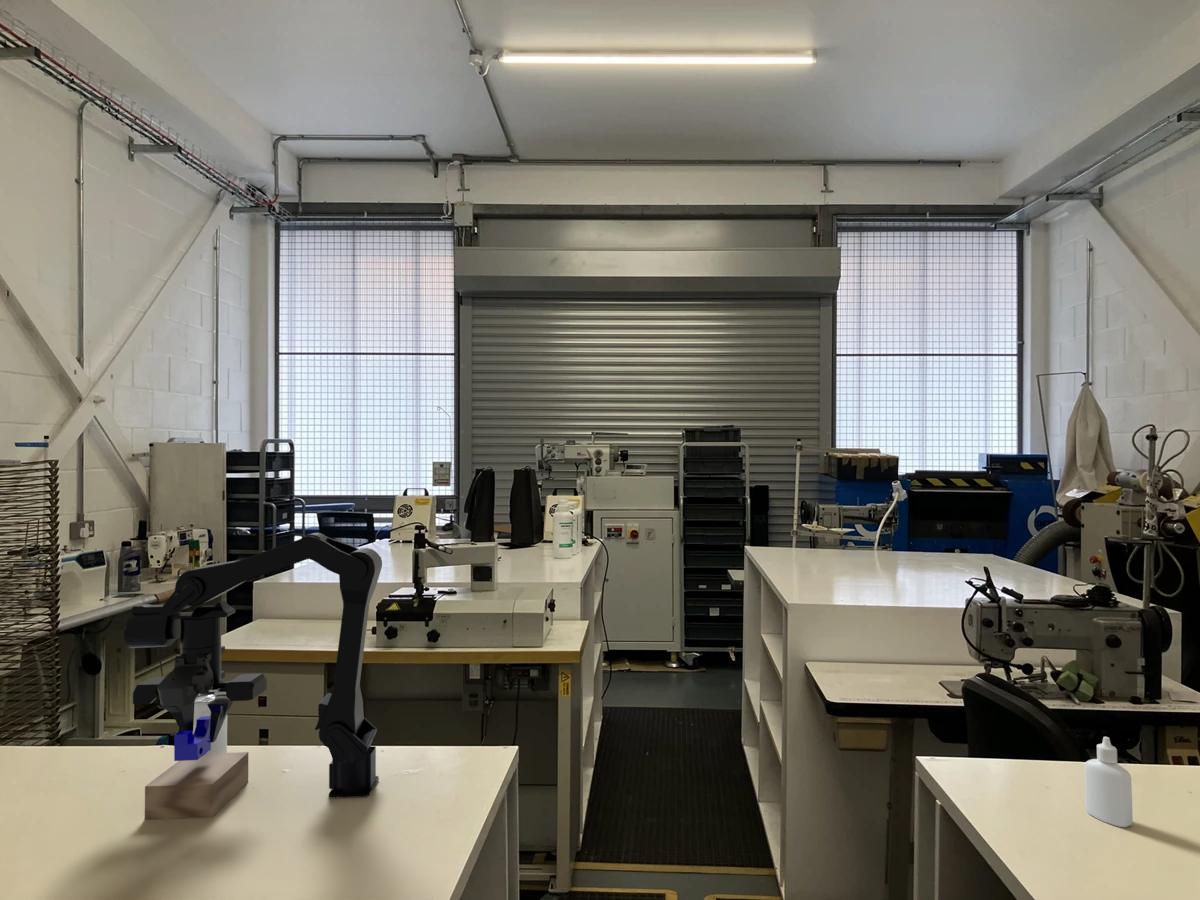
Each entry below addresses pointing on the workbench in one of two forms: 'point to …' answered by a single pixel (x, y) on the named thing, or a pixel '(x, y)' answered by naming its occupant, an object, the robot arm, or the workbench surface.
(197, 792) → the plate
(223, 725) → the can
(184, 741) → the cable holder
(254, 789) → the workbench surface
